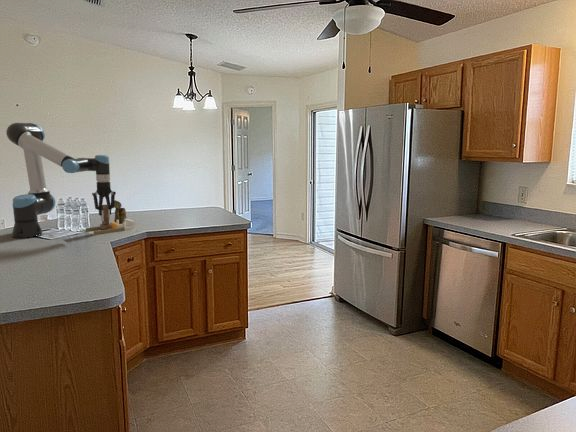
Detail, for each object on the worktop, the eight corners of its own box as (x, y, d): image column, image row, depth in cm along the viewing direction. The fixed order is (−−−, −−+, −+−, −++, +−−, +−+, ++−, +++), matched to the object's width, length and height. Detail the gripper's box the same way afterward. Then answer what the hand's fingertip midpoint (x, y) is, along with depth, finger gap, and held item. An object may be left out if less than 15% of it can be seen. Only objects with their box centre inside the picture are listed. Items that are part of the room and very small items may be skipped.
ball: (109, 227, 264) (114, 220, 266) (105, 226, 268) (111, 219, 270) (115, 232, 268) (120, 226, 269) (111, 231, 271) (117, 224, 273)
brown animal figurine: (109, 228, 282) (107, 200, 279) (116, 223, 295) (115, 197, 292) (123, 228, 282) (121, 200, 279) (130, 224, 295) (128, 197, 292)
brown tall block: (105, 232, 262) (103, 206, 259) (100, 230, 267) (98, 204, 264) (111, 231, 265) (110, 205, 262) (107, 229, 270) (105, 204, 267)
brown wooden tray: (95, 238, 254) (95, 227, 253) (84, 233, 266) (84, 222, 265) (137, 232, 271) (136, 221, 270) (125, 227, 283) (124, 217, 282)
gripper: (91, 182, 252) (94, 223, 257) (119, 181, 263) (121, 219, 268) (86, 181, 258) (89, 221, 262) (114, 180, 269) (116, 217, 273)
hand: (105, 220), depth 265 cm, fingers closed on brown tall block, 3 cm apart
